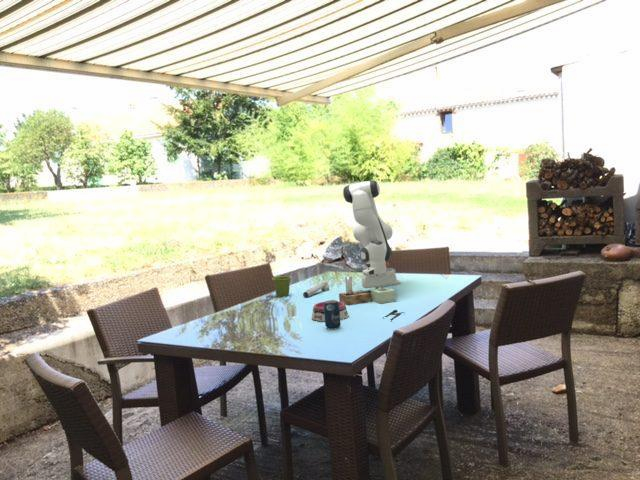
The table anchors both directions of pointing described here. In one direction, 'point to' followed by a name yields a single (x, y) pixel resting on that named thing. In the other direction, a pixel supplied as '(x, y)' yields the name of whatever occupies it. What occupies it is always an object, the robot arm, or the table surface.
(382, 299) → the square hole block
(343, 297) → the socket block
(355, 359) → the table surface
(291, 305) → the table surface
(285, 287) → the plant pot
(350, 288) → the peg
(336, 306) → the soda can
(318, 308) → the dog bowl
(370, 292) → the block
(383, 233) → the robot arm
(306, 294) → the white elongated piece
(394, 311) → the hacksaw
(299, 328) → the table surface
